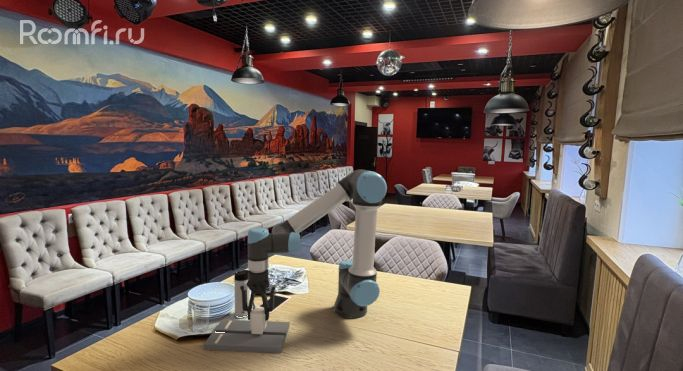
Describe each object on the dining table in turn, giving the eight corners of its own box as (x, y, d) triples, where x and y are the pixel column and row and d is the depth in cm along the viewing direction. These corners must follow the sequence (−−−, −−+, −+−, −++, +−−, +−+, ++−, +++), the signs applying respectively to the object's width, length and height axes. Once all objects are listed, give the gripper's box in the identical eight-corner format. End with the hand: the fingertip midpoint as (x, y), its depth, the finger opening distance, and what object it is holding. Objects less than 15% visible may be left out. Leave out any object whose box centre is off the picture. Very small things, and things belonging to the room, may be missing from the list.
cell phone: (254, 310, 156) (254, 308, 156) (276, 295, 172) (276, 293, 172) (270, 314, 152) (270, 312, 152) (291, 298, 169) (291, 296, 169)
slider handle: (265, 332, 136) (265, 307, 135) (262, 339, 131) (262, 314, 130) (255, 331, 136) (254, 307, 135) (251, 338, 131) (251, 313, 130)
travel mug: (246, 319, 147) (245, 274, 145) (232, 317, 148) (231, 272, 146) (252, 312, 153) (252, 269, 151) (239, 310, 154) (238, 267, 152)
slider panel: (289, 326, 142) (289, 321, 142) (280, 352, 124) (280, 347, 124) (222, 324, 143) (222, 319, 143) (203, 349, 125) (203, 344, 125)
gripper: (282, 266, 134) (282, 323, 137) (238, 265, 134) (239, 321, 137) (278, 273, 126) (278, 333, 129) (232, 272, 127) (233, 332, 129)
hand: (258, 327), depth 133 cm, fingers closed on slider handle, 4 cm apart
